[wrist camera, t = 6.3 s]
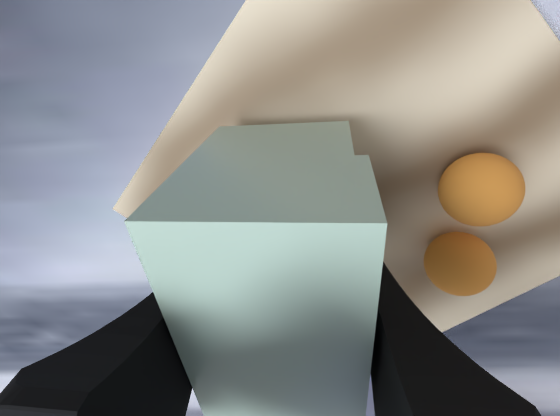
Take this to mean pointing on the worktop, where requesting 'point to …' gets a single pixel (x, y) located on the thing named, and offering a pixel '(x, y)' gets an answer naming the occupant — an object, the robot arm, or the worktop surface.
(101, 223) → the worktop surface
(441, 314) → the birch board
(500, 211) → the marble
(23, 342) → the worktop surface
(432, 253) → the marble
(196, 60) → the worktop surface
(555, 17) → the worktop surface
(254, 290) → the sage container
